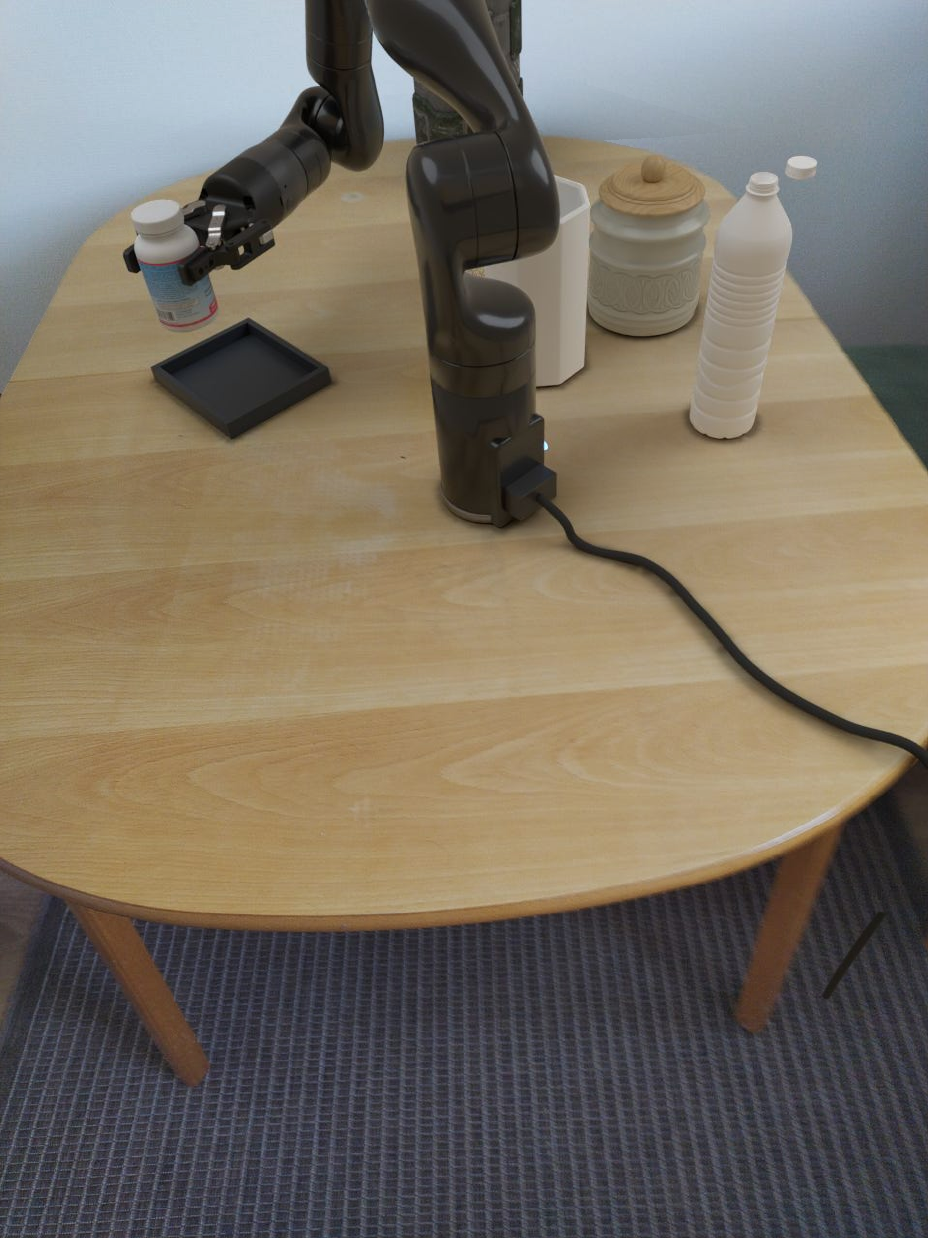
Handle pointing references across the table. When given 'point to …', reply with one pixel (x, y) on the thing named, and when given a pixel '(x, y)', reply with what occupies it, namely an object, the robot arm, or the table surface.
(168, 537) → the table surface
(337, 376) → the table surface
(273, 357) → the tray
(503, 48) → the canister
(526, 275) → the cup
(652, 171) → the jar
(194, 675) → the table surface
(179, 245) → the pill bottle
